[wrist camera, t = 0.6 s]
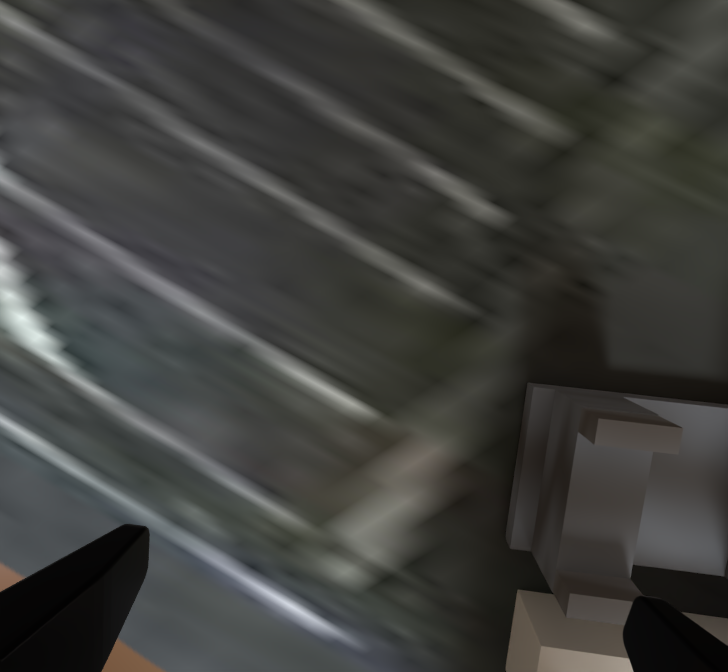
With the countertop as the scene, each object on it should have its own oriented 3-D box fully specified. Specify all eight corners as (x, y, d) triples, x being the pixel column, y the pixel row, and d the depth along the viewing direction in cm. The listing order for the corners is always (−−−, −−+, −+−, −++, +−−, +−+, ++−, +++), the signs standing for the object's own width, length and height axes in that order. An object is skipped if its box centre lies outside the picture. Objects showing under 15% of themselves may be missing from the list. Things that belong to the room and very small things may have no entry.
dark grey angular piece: (794, 574, 22) (922, 667, 17) (504, 537, 23) (539, 615, 18) (829, 415, 22) (977, 460, 16) (527, 382, 22) (570, 413, 17)
